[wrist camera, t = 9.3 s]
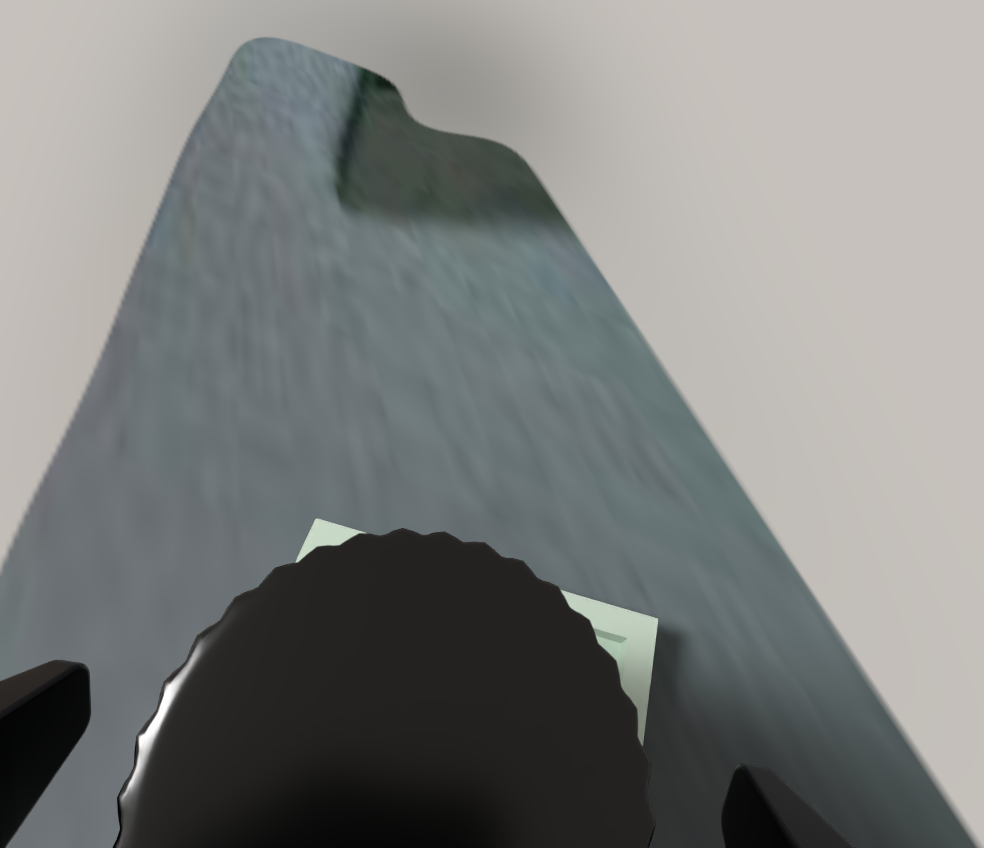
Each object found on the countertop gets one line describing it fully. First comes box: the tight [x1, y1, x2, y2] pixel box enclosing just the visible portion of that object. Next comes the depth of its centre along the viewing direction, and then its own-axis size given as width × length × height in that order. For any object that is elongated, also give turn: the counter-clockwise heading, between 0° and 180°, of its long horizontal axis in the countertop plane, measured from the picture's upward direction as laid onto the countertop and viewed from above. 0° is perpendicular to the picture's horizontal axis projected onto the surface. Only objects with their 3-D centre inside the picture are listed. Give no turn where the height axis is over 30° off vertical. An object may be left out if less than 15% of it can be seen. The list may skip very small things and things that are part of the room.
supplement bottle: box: [113, 528, 656, 848], centre depth 10 cm, size 7×7×12 cm
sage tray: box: [295, 518, 658, 746], centre depth 15 cm, size 11×11×1 cm
